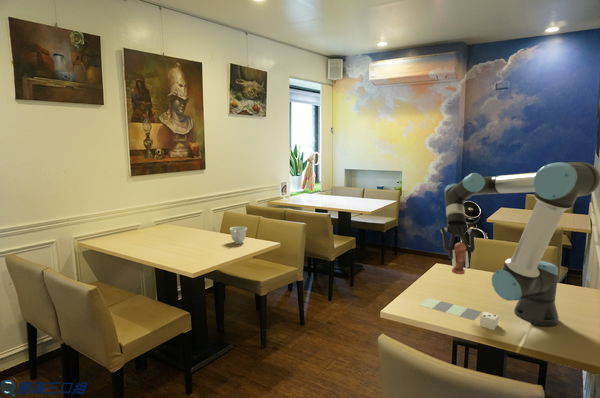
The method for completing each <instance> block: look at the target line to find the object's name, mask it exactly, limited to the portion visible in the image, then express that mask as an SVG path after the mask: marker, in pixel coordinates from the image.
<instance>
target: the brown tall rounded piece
mask: <svg viewBox="0 0 600 398" xmlns="http://www.w3.org/2000/svg"><path fill="white" fill-rule="evenodd" d="M453 250H455V259H456V266H455V268H453V267H452V268H451V272H452V273H453V274H455V275H465V272H466V271H465V269H464V267H465V259H464V255H465V251H466V246H465V244H463V243H462V241H461V242H460V241H459V242H456V243H455V244H454V245H453Z"/></svg>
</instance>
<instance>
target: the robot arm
mask: <svg viewBox="0 0 600 398" xmlns="http://www.w3.org/2000/svg"><path fill="white" fill-rule="evenodd" d="M599 185H600V172H599V170H598V169H597V168H596V166H594V165H592V164H591V163H588V162H584V161H576V162H575V161H574V162H573V161H571V162H570V161H569V162H563V161H559V162H553V163H549V164H546V165H544V166H541V168H539V169H538V170H537V172H527V173H515V174H514V173H513V174H505V175H504V174H503V175H495V176H494V175H493V176H482V175H481V174H479V173H477V172H471V173H470V174H468V175H467V176H465V177H464V178H463V179H462V180H461V181H460V182H459V183H451V184H450V185H449V184H448V185H447V186H446V187H445V188H444V201H445V215H446V227H443V226H441V228H440V230H439V232H440V234H441V237H442V244H443V245H442V248H443V251H445V252H447V253H448V256H449V257H448V258H449V259H450V260H451V262H452V263H451V264H452V268H455V266H456V259H455V249H454V245H455V244H454V243H455V237H457V238H459V239H460V240H461V243H463V244H465V246H466V251H465V255H464V268H465V269H469V266H470V262H469V261H471V258H472V256H471V253H474V252H475V249H476V248H475V235H474V233H475V228H472V229H471V228H468V225H467V220H466V218H467V217H466V210H465V209H466V208H465V202H466V201H467V200H468V199H470V198H472V196H481V195H496V194H517V193H534V194H533V197H534V199H535V201H536V202H535V205H534V207H533V209H532V211H531V214H530V216H529V217H528V221H527V223H526V225H525V228H524V229H523V232H522V234H521V237H520V239H519V241H518V243H517V245H516V248H515V250H514V252H513V255H512V257H508V258H506V259H505V261H504V264H503V265H502V268H500V269H497V270H496V271H494V272H493V274H492V275H491V285H492V287H493V290H494V291H495V293H496V294H497V295H498V297H499V298H501V299H502V300H505V301H508V302H509V301H517V302H516V303H515V304H516V305H515V306H514V310H513V311H514V312H513V314H514V315H515V316H516V317H518V318H520V319H521V320H524V321H526V322H529V323H530V325H533V326H537V327H539V326H540V327H548V328H549V327H555V326H557V325H558V324H559V318H560V317H559V313H558V310H557V306H556V296H557V287H558V285H557V284H558V279H559V278H558V277H559V267H558V266H557V265H556V264H554V263H551V262H548V261H544V260H542V258H543V257H544V254H545V252H546V250H547V249H548V246H549V244H550V242H551V240H552V238H553V235H554V234H555V231H556V230H557V228H558V226H559V224H560V221H561V219H562V217H563V215H564V213H565V211H569V210H570V209H572V208H573V207H574V204H575V202H576V200H577V199H578V197H584V196H588V195H591V194H593V192H595V191H596V190H598V189H597V188H599ZM447 232H448V233H449V234H450V238H449V239H450V240H449V246H448V236H447ZM466 233H467V234H468V235H469V236H468V240H469V242H468V240H467V237H466ZM465 269H464V270H465Z"/></svg>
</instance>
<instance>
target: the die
mask: <svg viewBox="0 0 600 398" xmlns="http://www.w3.org/2000/svg"><path fill="white" fill-rule="evenodd" d="M479 316H480V317H479V327H482V328H485V329H489V330H493V331H495V330H496V328H497V327H498V324H499V315H498V314H494V313H491V312H487V311H483V312H482V313H481V314H480V315H479Z"/></svg>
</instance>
